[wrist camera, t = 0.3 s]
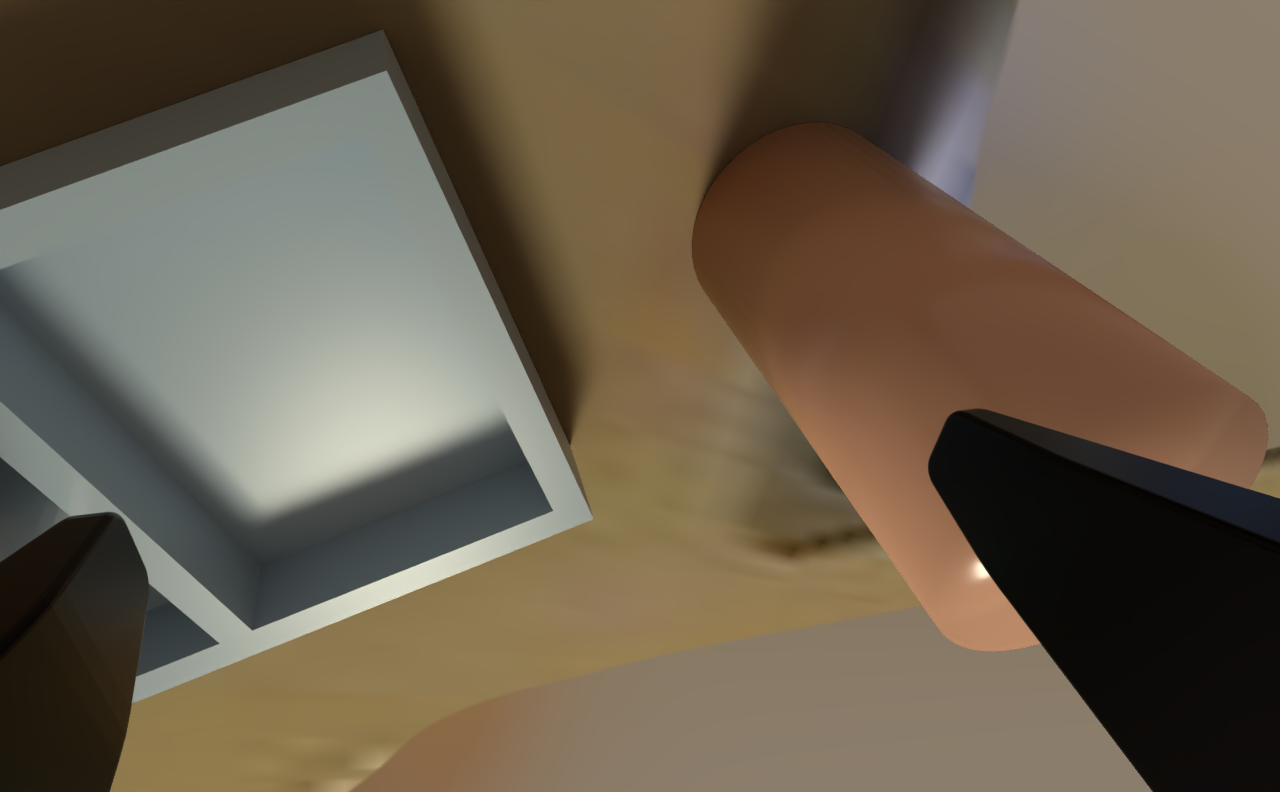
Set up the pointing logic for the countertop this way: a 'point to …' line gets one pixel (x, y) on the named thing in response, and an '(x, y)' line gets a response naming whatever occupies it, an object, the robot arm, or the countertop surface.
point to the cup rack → (271, 359)
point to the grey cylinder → (23, 511)
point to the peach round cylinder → (936, 349)
